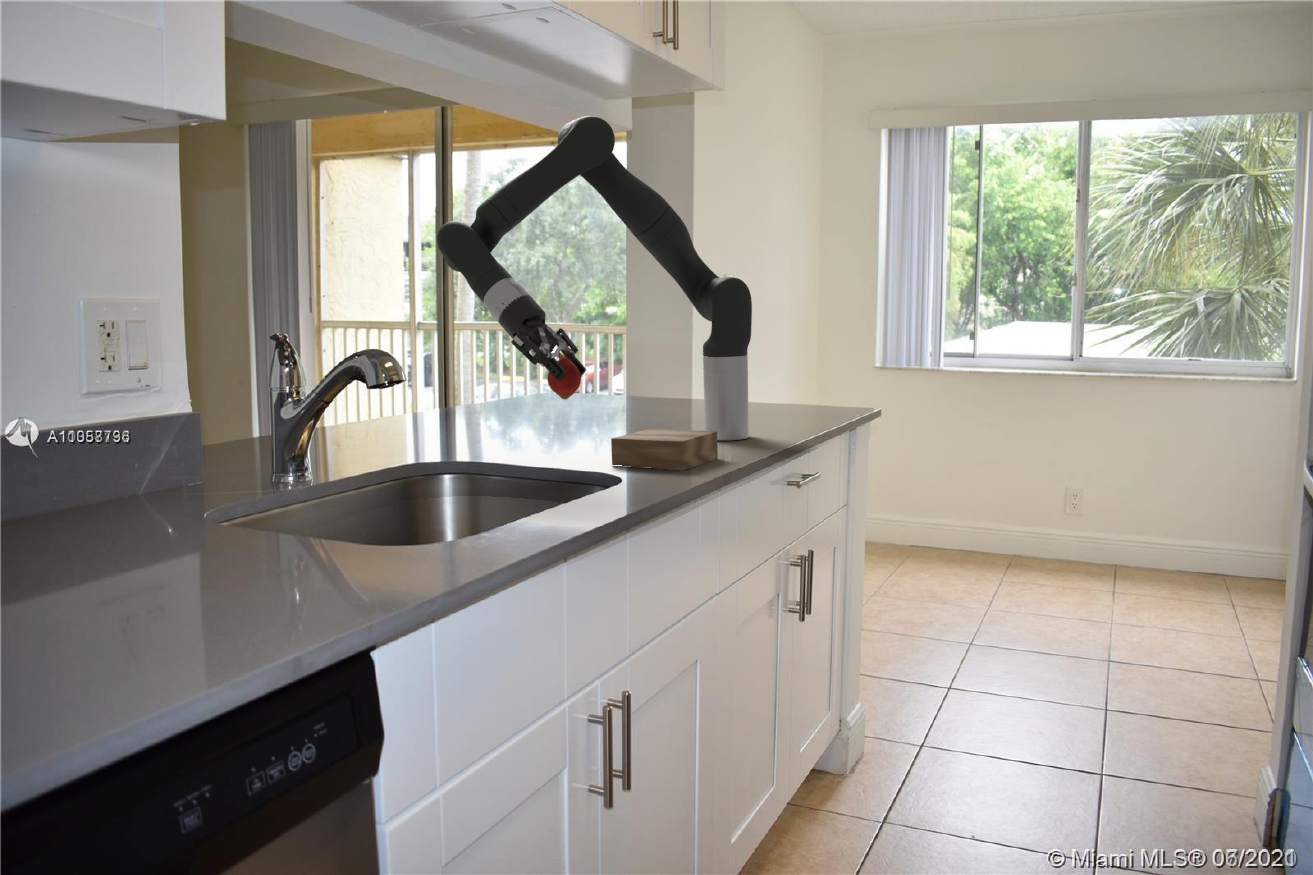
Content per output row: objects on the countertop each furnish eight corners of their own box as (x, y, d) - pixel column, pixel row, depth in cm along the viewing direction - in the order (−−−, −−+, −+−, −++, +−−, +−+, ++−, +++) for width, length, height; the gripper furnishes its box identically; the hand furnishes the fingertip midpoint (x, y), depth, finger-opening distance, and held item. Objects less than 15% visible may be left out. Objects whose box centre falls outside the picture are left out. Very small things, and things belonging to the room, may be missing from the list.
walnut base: (650, 455, 188) (649, 428, 188) (717, 458, 182) (717, 431, 181) (612, 466, 176) (611, 438, 175) (682, 470, 169) (682, 441, 169)
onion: (569, 397, 181) (567, 352, 180) (588, 398, 176) (586, 353, 175) (542, 400, 177) (540, 354, 176) (560, 401, 173) (558, 355, 172)
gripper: (500, 294, 172) (561, 363, 167) (548, 293, 184) (606, 357, 180) (478, 325, 175) (537, 394, 171) (526, 322, 187) (583, 386, 183)
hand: (572, 375), depth 175 cm, fingers closed on onion, 5 cm apart
